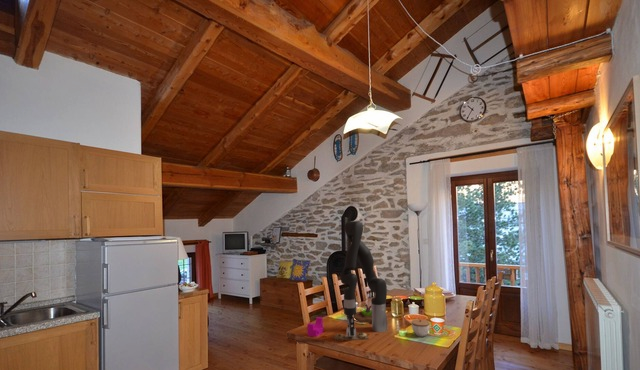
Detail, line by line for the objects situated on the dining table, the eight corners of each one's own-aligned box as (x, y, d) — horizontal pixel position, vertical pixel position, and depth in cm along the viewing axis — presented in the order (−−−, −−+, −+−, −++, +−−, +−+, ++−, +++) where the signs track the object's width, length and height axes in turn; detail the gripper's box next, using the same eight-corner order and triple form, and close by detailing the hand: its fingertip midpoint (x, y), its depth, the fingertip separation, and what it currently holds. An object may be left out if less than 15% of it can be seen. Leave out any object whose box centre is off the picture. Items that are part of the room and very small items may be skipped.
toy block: (316, 337, 220) (316, 325, 220) (307, 336, 223) (307, 324, 223) (326, 329, 234) (326, 318, 234) (317, 328, 236) (317, 317, 237)
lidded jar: (413, 330, 227) (413, 315, 227) (431, 332, 222) (430, 317, 222) (410, 336, 217) (409, 320, 217) (428, 338, 212) (427, 323, 213)
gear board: (366, 335, 220) (366, 330, 220) (368, 339, 214) (368, 334, 214) (333, 337, 218) (333, 332, 219) (334, 341, 212) (334, 336, 212)
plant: (349, 316, 261) (349, 300, 261) (374, 313, 266) (373, 298, 266) (359, 324, 241) (358, 308, 242) (385, 321, 246) (385, 305, 247)
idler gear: (355, 332, 218) (354, 325, 218) (356, 336, 212) (356, 328, 213) (345, 333, 217) (345, 326, 217) (347, 336, 212) (347, 329, 212)
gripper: (358, 309, 210) (359, 336, 209) (353, 302, 224) (354, 328, 224) (345, 309, 210) (346, 337, 209) (342, 303, 224) (343, 329, 223)
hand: (350, 332), depth 216 cm, fingers open, 8 cm apart
